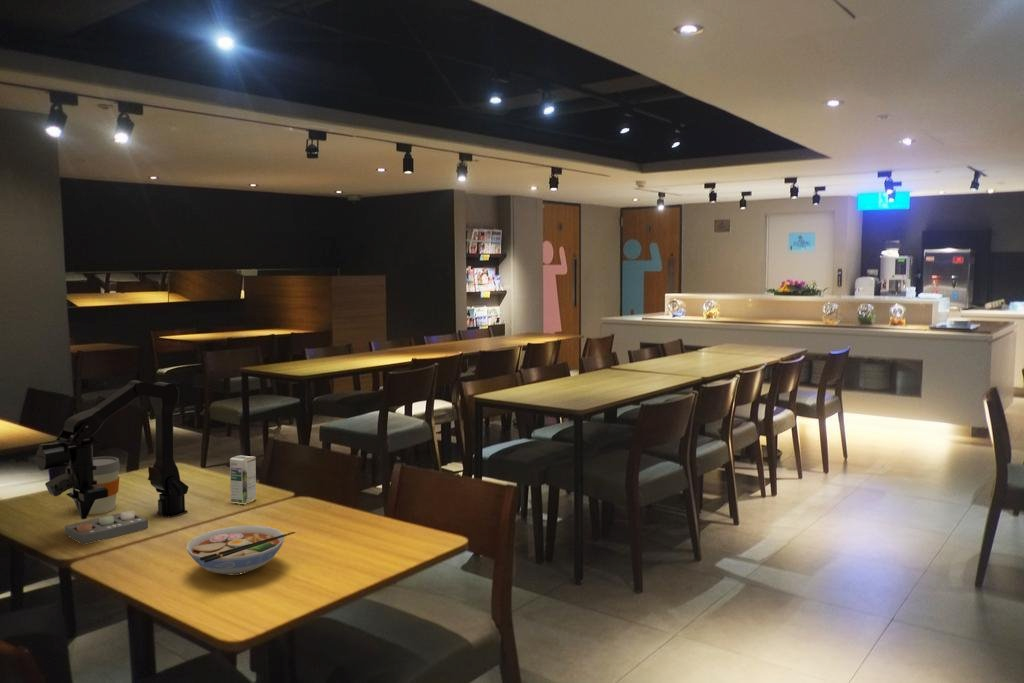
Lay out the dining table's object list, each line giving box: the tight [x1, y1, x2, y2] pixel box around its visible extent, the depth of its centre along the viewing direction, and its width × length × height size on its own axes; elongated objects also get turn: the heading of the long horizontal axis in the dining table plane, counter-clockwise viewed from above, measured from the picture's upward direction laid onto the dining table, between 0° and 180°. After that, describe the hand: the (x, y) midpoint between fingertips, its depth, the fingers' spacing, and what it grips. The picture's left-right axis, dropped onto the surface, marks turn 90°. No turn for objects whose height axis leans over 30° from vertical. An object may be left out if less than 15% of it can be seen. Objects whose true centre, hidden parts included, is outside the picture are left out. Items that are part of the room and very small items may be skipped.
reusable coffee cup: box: [88, 456, 121, 515], centre depth 234 cm, size 13×13×15 cm
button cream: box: [120, 510, 136, 521], centre depth 220 cm, size 4×4×3 cm
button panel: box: [64, 512, 149, 545], centre depth 215 cm, size 17×12×3 cm
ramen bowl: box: [185, 524, 296, 575], centre depth 189 cm, size 25×23×8 cm
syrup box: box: [229, 454, 257, 503], centre depth 243 cm, size 6×6×14 cm
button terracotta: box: [77, 524, 92, 532], centre depth 211 cm, size 4×4×3 cm
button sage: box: [98, 515, 114, 527], centre depth 215 cm, size 4×4×3 cm
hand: (83, 518), depth 211 cm, fingers closed
